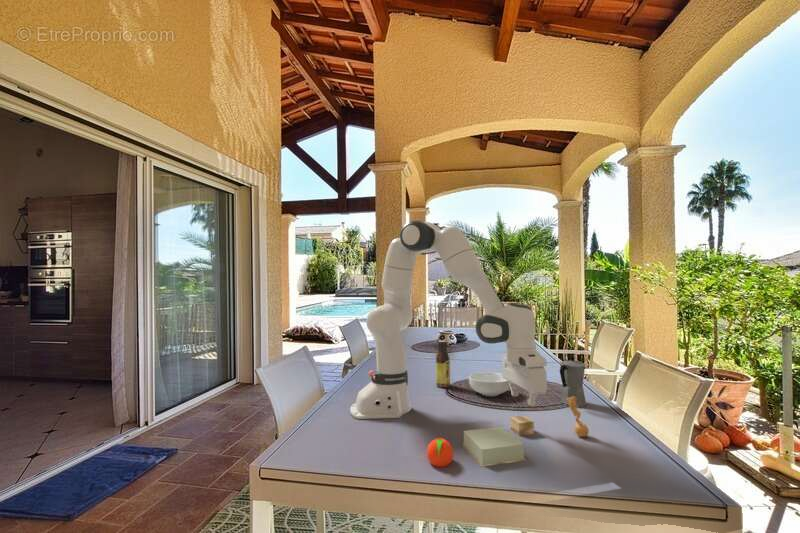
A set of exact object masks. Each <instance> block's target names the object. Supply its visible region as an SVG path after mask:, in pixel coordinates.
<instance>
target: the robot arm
mask: <svg viewBox="0 0 800 533" xmlns="http://www.w3.org/2000/svg"><path fill="white" fill-rule="evenodd" d="M435 253H437V254H438V256H439V257H440V259H441V261H442V264H443V265H444V268H445V270H446V272H447V273H448V275H449V276H450V278H451V279H452V280H453V281H454V282H456V283H457V284H460V285H463V286H465V287H467V288H468V289H470V290H471V291H472V292H473V293H474V294H475V295H476V297H477V298H478V300H479V302H480V304H481V305H482V307H483V309H484V311H485V313H486V314H483V315H482V316H481V317H479V318H478V319H477V321H476V322H475V323H476V324H475V332H476V335H477V337H478V338H479V339H480V340H481V341H482V342H483V343H485V344H491V345H493V344H500V343H505V344H506V345H505V346H506V351H505V352H504V354H503V357H502V360H501V374H502V376H503V378H504V379H506V380H508V381H509V386H510V387H509V389H510V391H511V396H512V397H515V398H516V397H519V390H518V388H517V387H519V388H522V389H524V390H526V391H527V392H528V395H529V398H527V405H528V406H530V407H535V406H536V400H537V398H538V395H543V394H545V393H546V392H547V389H548V381H547V378H548V377H547V370H546V368H545V367H546V366H547V364H548V363H547V359H546V358H545V357H544V356H543V355H541V353H540V352H539V351H538V350H537V344H536V341H535V336H536V333H537V332H536V319H535V313H534V310H533V308H532V307H531V306H530V305H528V304H525V303H521V302H509V303H507V304H506V305H504V304H503V302H502V300H501V299H500V297H499V295H498V293H497V291H496V289H495V288H494V287H493V285H492V283H491V280H489V278H488V276H487V275H486V272H485V271H484V269H483V267H482V265H481V263H480V261H479V259H478V257H477V255H476V252H475V251H474V249H473V247H472V245H471V243H470V241H469V240H468V239H467V237H466V236H465V234H464V233H463V232H462V230H461V229H460V228H459V227H456V226H447V227H444V228H442V227H441V226H439V225H438V224H437V225H436V224H434V223H432V222H428V221H421V220H412V221H411V220H410V221H408V222H406V223H405V224H403V226H402V228H401V229H400V233H399V237H397V238H394V239H393V240H392V241H391V242H389V247H388V249H387V252H386V256H385V261H384V264H383V271H382V277H381V278H382V279H381V283H380V284H381V288H382V291H383V305H379V306H376V307H375V308H373V309H372V310H371V311H370V312H369V313H368V314H367V317H366V328H367V329H368V331H369V332H370V333H371V335H372V338H373V343H374V345H375V352H376V356H375V357H376V370H375V371H374V370H369V372H368V375H369V377H370V378H371V379H370V380H371V381H370V382H369V383H368V384H366V385H365V386H364V387H363V388H362V389H360V390H359V392H358V393H357V396H356V399H355V400H356V401H355V403H352V405H350V410H349V411H350V415H351V416H352V417H353V418H355V419H358V420H365V419H366V420H368V419H370V420H371V419H396V418H397V419H398V418H401V417H402V416H403V415H404V414H407V413H409V412H410V411H411V410H412V406H411V402H410V398H409V397H410V396H409V390H408V385H409V384H408V383H409V374H408V370H407V349H406V347H405V345H404V343H403V340H402V334H401V332H402V331H403V330H405V329H406V328H407V327H409V326H410V324H411V323H412V321H413V317H414V315H413V311H412V303H411V302H412V298H411V295H412V294H411V293H412V292H411V291H412V284H413V277H414V272H415V271H414V270H415V265H416V264H415V263H416V259H417V257H418V256H419V255H422V256H425V255H431V254H435Z"/></svg>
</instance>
